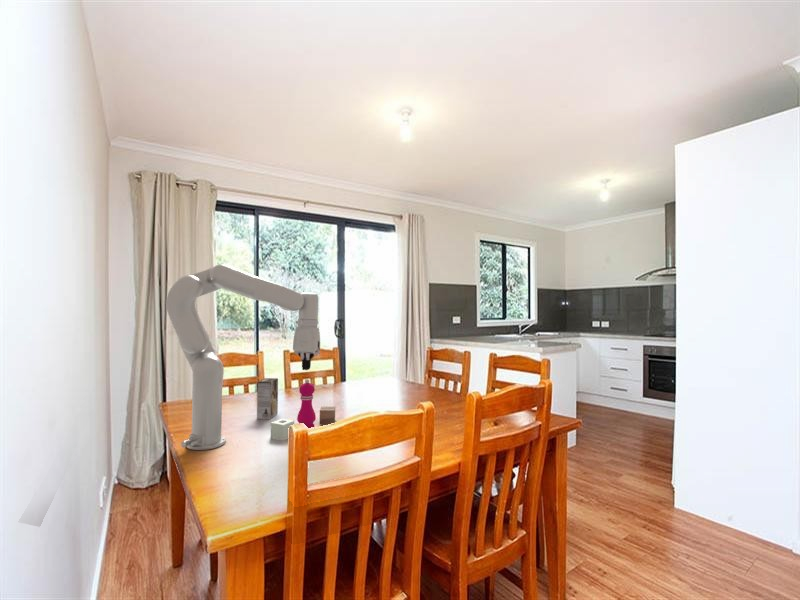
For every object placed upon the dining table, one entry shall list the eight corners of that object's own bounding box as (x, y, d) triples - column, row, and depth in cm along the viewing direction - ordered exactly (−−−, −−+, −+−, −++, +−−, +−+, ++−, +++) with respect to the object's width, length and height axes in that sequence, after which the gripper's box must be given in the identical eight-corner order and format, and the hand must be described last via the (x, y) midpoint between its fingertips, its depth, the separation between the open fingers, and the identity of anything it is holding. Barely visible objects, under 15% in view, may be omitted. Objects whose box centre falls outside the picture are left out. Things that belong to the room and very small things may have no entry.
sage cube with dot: (283, 440, 146) (283, 424, 146) (270, 438, 149) (270, 422, 149) (294, 436, 152) (294, 420, 152) (281, 433, 154) (282, 418, 154)
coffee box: (263, 413, 182) (264, 377, 182) (277, 413, 182) (278, 378, 182) (256, 419, 172) (256, 381, 173) (270, 419, 172) (271, 382, 172)
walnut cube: (334, 424, 167) (334, 410, 167) (319, 424, 166) (319, 410, 166) (335, 420, 173) (335, 406, 173) (321, 420, 172) (321, 406, 172)
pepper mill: (310, 432, 156) (311, 381, 156) (293, 431, 157) (294, 380, 157) (318, 427, 163) (319, 377, 163) (301, 425, 164) (302, 377, 164)
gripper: (286, 323, 159) (284, 369, 158) (320, 324, 155) (318, 372, 154) (295, 322, 166) (294, 367, 165) (329, 324, 162) (327, 369, 161)
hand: (306, 369), depth 160 cm, fingers closed
